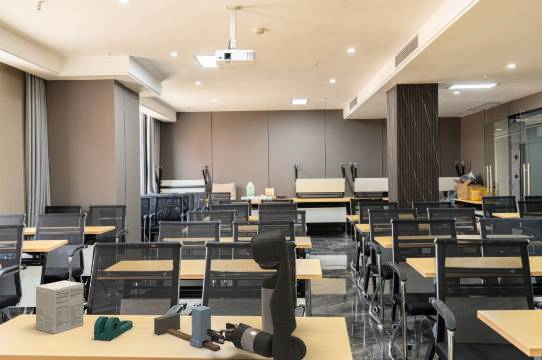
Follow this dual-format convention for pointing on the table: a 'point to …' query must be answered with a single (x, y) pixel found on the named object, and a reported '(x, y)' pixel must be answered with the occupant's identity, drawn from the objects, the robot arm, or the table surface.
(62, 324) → the supplement box
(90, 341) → the table surface
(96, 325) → the bracket
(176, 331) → the rail
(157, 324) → the stop block
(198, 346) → the block
